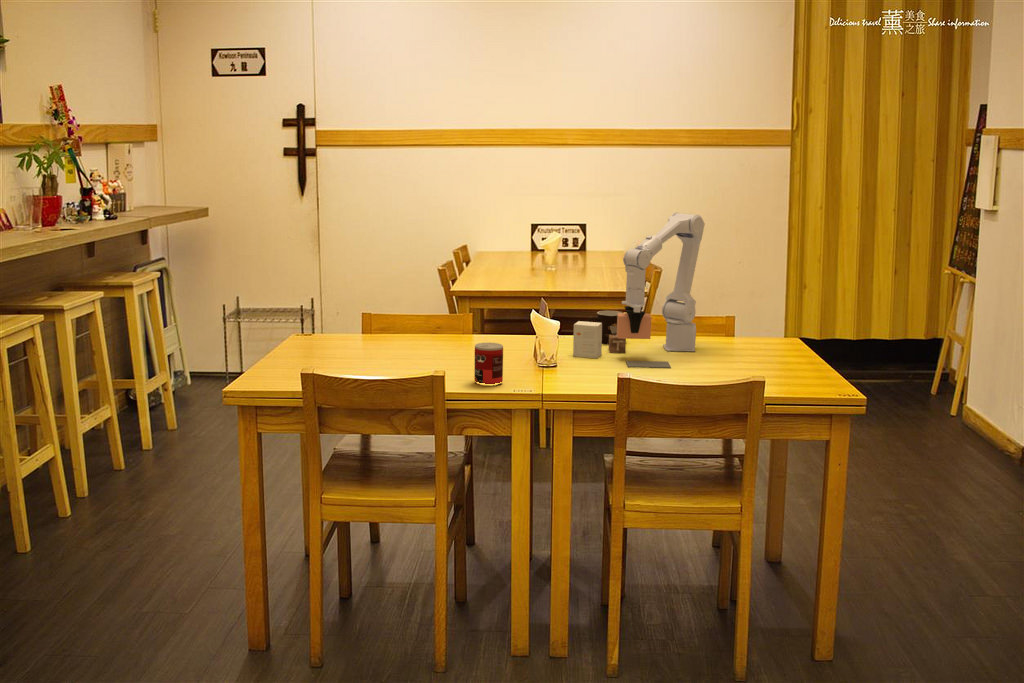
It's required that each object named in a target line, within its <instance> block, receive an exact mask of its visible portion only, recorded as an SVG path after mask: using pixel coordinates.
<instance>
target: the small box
mask: <svg viewBox="0 0 1024 683" xmlns="http://www.w3.org/2000/svg"><path fill="white" fill-rule="evenodd" d="M572 341H573V342H572V343H573V345H572V346H573V348H572V351H573V352H572V355H573V357H574V358H575V357H577V358H585V359H587V358H588V359H598V358H600V356H602V351H603V350H602V345H603V344H602V323H598V322H597V321H596V322H595V321H594V322H593V321H590V322H588V321H580V320H578V321H577V322H575V323H574V324H573V340H572Z"/></svg>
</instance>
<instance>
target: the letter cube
mask: <svg viewBox="0 0 1024 683" xmlns="http://www.w3.org/2000/svg"><path fill="white" fill-rule="evenodd" d="M626 343H627V339H618V337H617V335H609V345H608V353H609V354H626V345H627V344H626Z"/></svg>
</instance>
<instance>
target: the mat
mask: <svg viewBox="0 0 1024 683" xmlns="http://www.w3.org/2000/svg"><path fill="white" fill-rule="evenodd" d="M626 363H627V364H626ZM625 364H626V366H627V368H629V367H649V368H648V369H672V366H671V365H670V362H669V361H665V360H664V361H661V360H660V361H658V360H625Z"/></svg>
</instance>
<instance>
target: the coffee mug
mask: <svg viewBox="0 0 1024 683" xmlns="http://www.w3.org/2000/svg"><path fill="white" fill-rule="evenodd" d="M618 313H623V312H622V311H616V310H600V311H597V312H596V314H597V315H596V316H597V317H591V318H589V319H588V320H587V322H592V320H593V321H594V320H595V321H596V322H597V323H602V345H608V346H609V335H617V314H618Z"/></svg>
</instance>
